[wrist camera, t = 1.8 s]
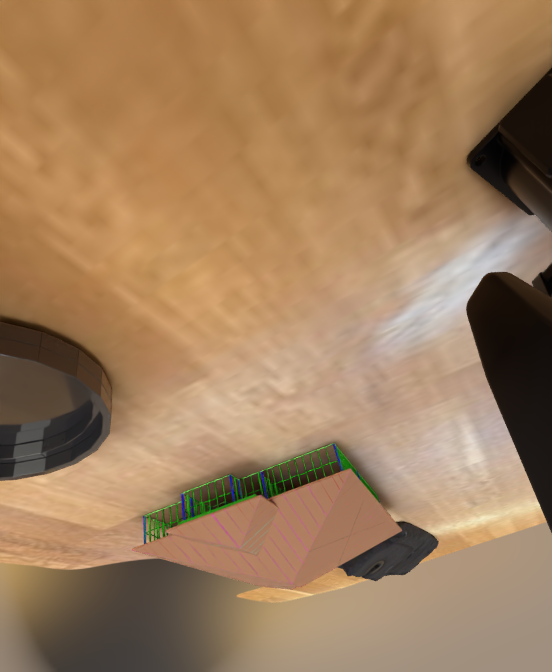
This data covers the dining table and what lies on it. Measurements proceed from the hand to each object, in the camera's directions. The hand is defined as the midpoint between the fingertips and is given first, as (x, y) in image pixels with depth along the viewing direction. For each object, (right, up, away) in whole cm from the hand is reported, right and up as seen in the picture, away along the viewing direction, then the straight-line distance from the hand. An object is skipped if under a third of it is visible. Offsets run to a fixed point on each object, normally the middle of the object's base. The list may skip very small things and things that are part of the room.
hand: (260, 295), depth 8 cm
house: (+1, -22, +47) cm, 52 cm away
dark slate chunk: (+18, -36, +69) cm, 80 cm away
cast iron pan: (-17, -4, +20) cm, 27 cm away
